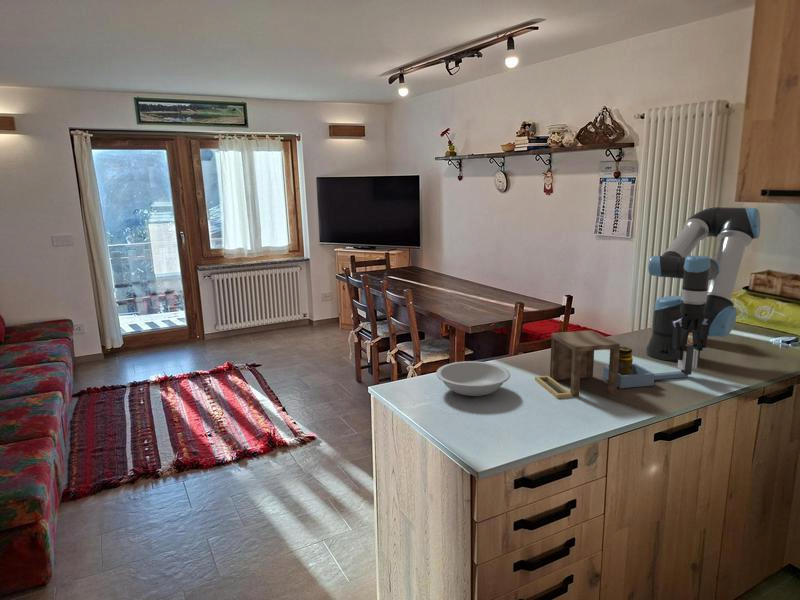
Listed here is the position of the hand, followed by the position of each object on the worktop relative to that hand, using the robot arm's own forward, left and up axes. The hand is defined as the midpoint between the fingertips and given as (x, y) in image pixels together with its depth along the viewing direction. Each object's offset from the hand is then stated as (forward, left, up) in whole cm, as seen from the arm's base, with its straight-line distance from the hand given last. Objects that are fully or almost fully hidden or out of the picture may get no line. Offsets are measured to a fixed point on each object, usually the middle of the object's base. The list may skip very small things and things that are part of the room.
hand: (687, 368), depth 186 cm
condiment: (+25, 0, -4) cm, 25 cm away
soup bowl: (+76, -3, -3) cm, 76 cm away
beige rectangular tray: (+49, 0, -3) cm, 49 cm away
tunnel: (+39, 0, -3) cm, 39 cm away
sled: (+13, 0, -3) cm, 14 cm away
